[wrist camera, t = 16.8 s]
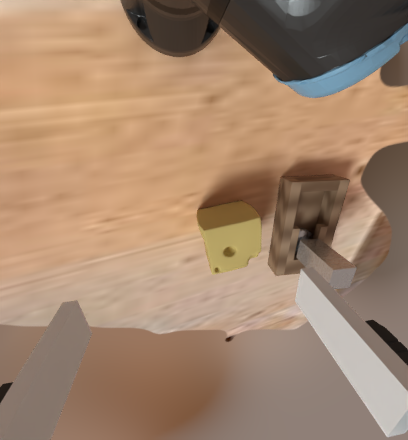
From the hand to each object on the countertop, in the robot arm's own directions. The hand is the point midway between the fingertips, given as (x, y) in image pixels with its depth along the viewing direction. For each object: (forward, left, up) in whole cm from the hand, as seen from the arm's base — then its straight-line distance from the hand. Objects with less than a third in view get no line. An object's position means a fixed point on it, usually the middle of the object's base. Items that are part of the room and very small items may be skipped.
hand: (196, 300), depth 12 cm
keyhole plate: (+11, +27, -30) cm, 42 cm away
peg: (+15, +27, -29) cm, 43 cm away
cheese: (+10, +9, -31) cm, 34 cm away
